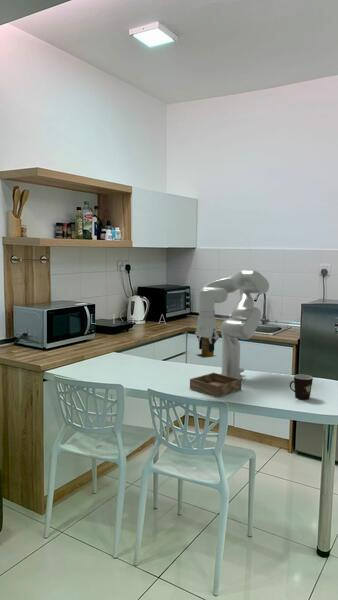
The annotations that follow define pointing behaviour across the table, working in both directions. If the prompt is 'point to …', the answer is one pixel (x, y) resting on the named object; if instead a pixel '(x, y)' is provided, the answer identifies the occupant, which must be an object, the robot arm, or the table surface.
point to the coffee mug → (302, 386)
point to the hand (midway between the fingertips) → (206, 349)
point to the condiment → (206, 349)
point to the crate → (215, 384)
